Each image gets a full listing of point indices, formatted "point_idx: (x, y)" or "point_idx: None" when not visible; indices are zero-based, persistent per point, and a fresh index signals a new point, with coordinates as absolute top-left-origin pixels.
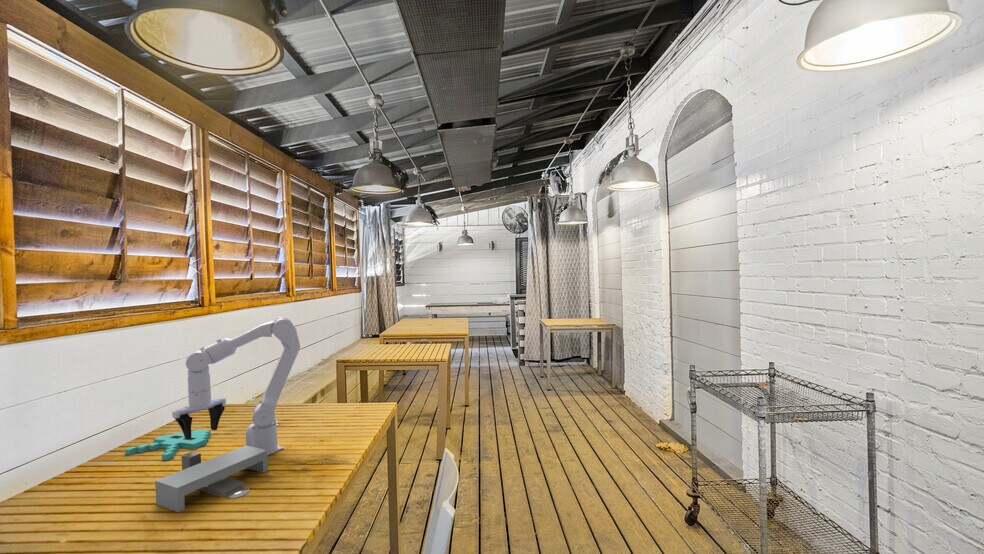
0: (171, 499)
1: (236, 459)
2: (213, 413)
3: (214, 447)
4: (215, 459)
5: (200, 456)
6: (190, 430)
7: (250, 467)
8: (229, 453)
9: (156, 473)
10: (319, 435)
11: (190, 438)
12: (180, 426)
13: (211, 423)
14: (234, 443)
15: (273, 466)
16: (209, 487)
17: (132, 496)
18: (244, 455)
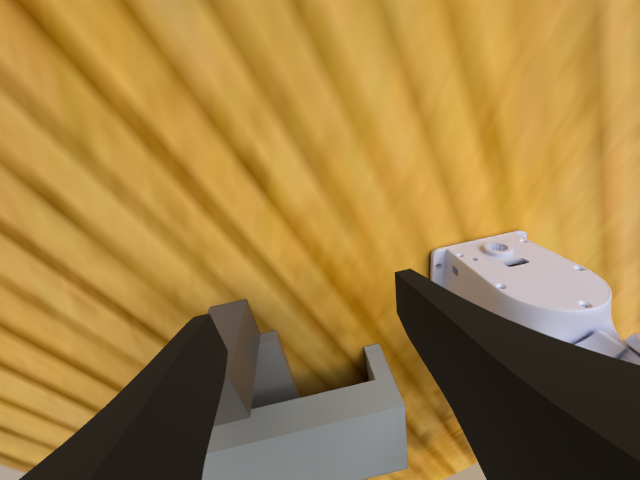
0: None
1: (323, 475)
2: (507, 453)
3: (428, 11)
4: (281, 447)
5: (250, 404)
6: (206, 430)
7: (369, 378)
8: (333, 432)
9: (121, 151)
10: (621, 296)
11: (223, 354)
12: (85, 431)
13: (423, 307)
14: (504, 64)
15: (405, 392)
16: None
17: (56, 314)
18: (351, 467)
